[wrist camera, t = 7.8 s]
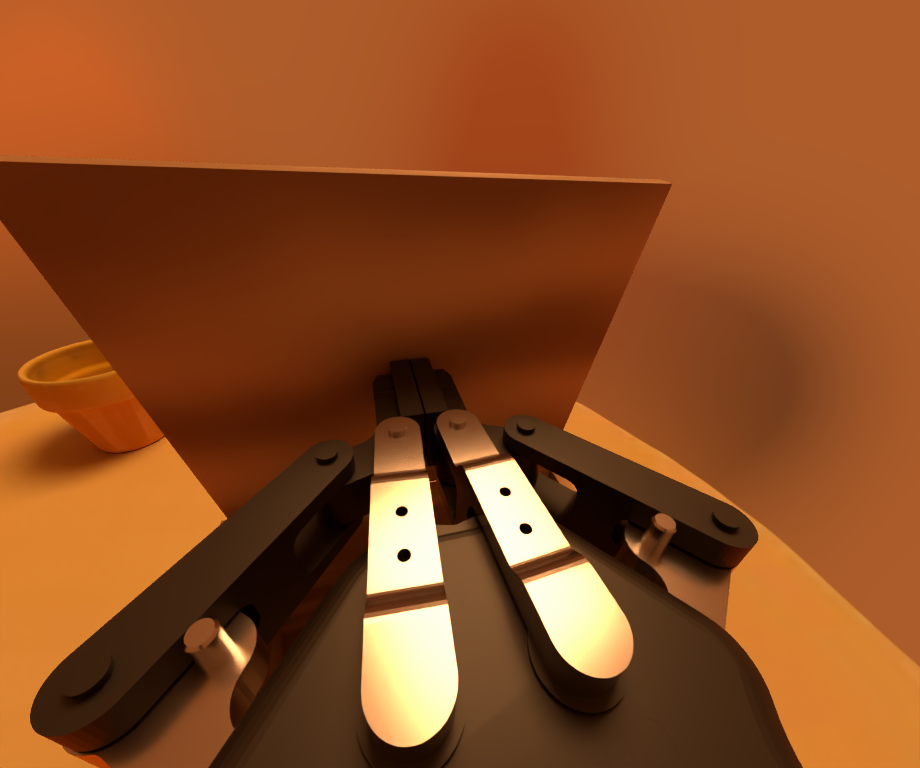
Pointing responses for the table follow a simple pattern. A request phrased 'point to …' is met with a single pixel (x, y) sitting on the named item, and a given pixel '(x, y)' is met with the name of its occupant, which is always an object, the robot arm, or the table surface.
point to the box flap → (325, 291)
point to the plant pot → (89, 397)
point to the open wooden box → (337, 566)
